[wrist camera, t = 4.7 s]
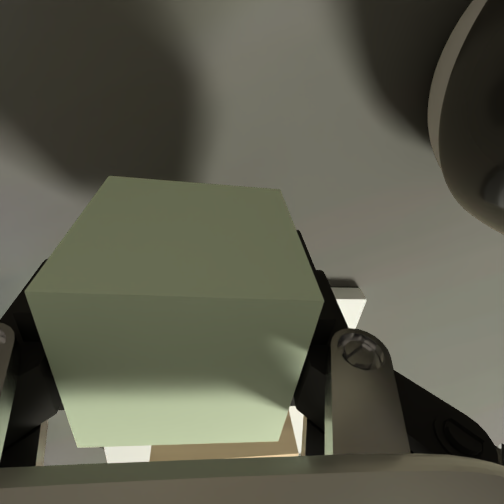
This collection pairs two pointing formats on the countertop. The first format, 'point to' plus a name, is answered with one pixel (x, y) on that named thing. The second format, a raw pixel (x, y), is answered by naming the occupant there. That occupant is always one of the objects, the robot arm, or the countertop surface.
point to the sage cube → (177, 314)
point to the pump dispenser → (472, 112)
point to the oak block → (230, 448)
